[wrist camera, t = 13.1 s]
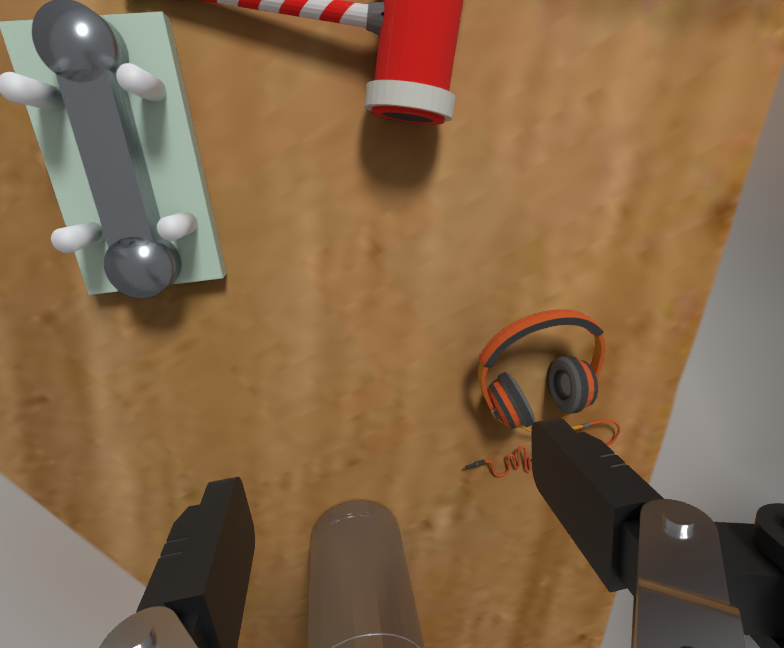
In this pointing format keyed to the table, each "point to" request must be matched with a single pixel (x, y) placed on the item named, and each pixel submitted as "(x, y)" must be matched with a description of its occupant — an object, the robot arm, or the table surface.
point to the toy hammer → (394, 50)
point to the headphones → (566, 377)
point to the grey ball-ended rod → (107, 143)
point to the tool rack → (157, 136)
